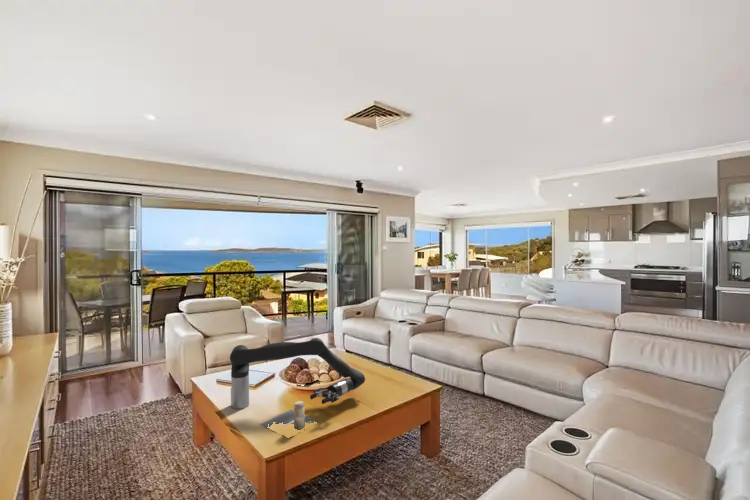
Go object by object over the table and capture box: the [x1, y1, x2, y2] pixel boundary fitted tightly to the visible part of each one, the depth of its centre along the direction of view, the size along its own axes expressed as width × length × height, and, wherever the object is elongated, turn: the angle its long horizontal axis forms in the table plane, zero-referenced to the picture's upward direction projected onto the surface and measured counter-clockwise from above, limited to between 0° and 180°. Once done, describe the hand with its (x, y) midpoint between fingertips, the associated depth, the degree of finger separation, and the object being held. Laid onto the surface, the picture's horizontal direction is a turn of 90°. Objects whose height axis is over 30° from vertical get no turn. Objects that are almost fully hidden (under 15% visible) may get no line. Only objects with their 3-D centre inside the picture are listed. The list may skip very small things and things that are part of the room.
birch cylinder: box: [293, 400, 305, 430], centre depth 184 cm, size 5×5×12 cm
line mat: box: [259, 409, 318, 429], centre depth 188 cm, size 22×20×1 cm
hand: (316, 399), depth 193 cm, fingers open, 8 cm apart
